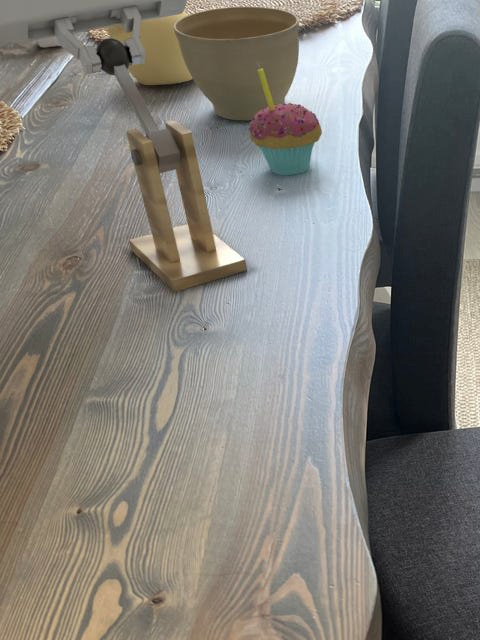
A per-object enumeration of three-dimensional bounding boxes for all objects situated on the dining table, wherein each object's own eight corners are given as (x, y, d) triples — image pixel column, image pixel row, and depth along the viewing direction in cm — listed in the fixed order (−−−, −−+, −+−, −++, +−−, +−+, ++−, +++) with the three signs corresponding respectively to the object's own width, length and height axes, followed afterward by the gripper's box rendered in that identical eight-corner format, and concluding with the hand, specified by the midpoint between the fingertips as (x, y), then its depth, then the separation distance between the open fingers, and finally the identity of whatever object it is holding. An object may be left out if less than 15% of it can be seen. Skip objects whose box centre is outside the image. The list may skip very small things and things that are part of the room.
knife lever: (90, 59, 100) (88, 33, 97) (121, 53, 101) (120, 27, 98) (153, 177, 99) (154, 155, 96) (184, 170, 100) (185, 148, 97)
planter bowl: (264, 138, 131) (249, 44, 124) (168, 121, 137) (147, 30, 129) (332, 100, 141) (321, 12, 134) (239, 86, 147) (224, 0, 139)
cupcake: (266, 186, 120) (247, 75, 111) (247, 162, 125) (228, 55, 117) (334, 173, 122) (321, 64, 114) (313, 150, 128) (299, 44, 119)
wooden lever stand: (131, 250, 108) (97, 123, 99) (200, 231, 111) (173, 106, 102) (174, 292, 101) (141, 158, 92) (247, 270, 104) (222, 139, 95)
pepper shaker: (65, 46, 163) (46, -22, 156) (39, 49, 162) (19, -20, 156) (65, 40, 166) (46, -28, 159) (40, 42, 165) (20, -26, 158)
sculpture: (154, 66, 155) (136, -16, 147) (222, 73, 151) (206, -10, 144) (110, 89, 147) (88, 4, 140) (179, 97, 144) (161, 10, 136)
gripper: (-60, -81, 91) (10, 65, 92) (154, -109, 99) (216, 26, 100) (-54, -32, 97) (12, 105, 98) (148, -62, 105) (207, 65, 106)
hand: (117, 65), depth 99 cm, fingers closed on knife lever, 3 cm apart
